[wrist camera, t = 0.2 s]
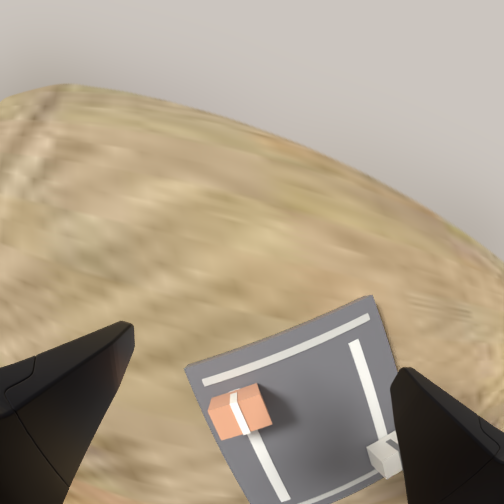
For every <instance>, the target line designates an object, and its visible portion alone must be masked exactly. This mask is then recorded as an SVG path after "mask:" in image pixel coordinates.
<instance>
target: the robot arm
mask: <svg viewBox="0 0 504 504" xmlns="http://www.w3.org/2000/svg"><path fill="white" fill-rule="evenodd" d="M134 347H135V340H134V326H133V324H131V323H128V322H125V321H119V322H117V323H114V324H112V325H109V326H107V327H105V328H102V329H100V330H97V331H95V332H92V333H90V334H87V335H85V336H83V337H80V338H78V339H75V340H73V341H70V342H68V343H65V344H63V345H60V346H58V347H55V348H53V349H50V350H48V351H45V352H43V353H40V354H38V355H36V356H33V357H30V358H27V359H25V360H22V361H19V362H17V363H14V364H11V365H8V366H4V367H1V368H0V504H63V502H64V499H65V497H66V495H67V492H68V490H69V487H70V485H71V483H72V481H73V479H74V476H75V474H76V472H77V470H78V468H79V466H80V464H81V462H82V459H83V457H84V455H85V453H86V451H87V449H88V447H89V445H90V443H91V441H92V439H93V437H94V435H95V433H96V431H97V429H98V427H99V425H100V423H101V421H102V419H103V417H104V415H105V413H106V411H107V409H108V408H109V406H110V404H111V402H112V400H113V398H114V396H115V394H116V392H117V390H118V388H119V386H120V384H121V381H122V379H123V376H124V374H125V371H126V368H127V366H128V363H129V361H130V358H131V356H132V353H133V351H134ZM390 394H391V402H392V410H393V418H394V426H395V431H396V436H397V440H398V445H399V450H400V456H401V461H402V467H403V473H404V479H405V486H406V493H407V500H408V504H504V432H502V431H500V430H499V429H497V428H496V427H494V426H493V425H491V424H490V423H488V422H487V421H485V420H484V419H483V418H481V417H480V416H478V415H477V414H476V413H474V412H473V411H471V410H470V409H469V408H467V407H466V406H465V405H463V404H462V403H460V402H459V401H458V400H456V399H455V398H453V397H452V396H451V395H449V394H448V393H447V392H445V391H444V390H442V389H441V388H440V387H438V386H437V385H435V384H434V383H433V382H431V381H430V380H429V379H427V378H426V377H424V376H423V375H422V374H420V373H419V372H417V371H416V370H415V369H413V368H411V367H403V368H401V369H400V370H399V372H398V373H397V375H396V377H395V378H394V380H393V382H392V383H391V386H390Z"/></svg>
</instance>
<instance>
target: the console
mask: <svg viewBox="0 0 504 504" xmlns="http://www.w3.org/2000/svg"><path fill="white" fill-rule="evenodd" d="M184 370H185V373H186V375H187V378H188V380H189V383H190V385H191V387H192V390H193V392H194V394H195V397H196V399H197V401H198V404H199V406H200V408H201V410H202V413H203V415H204V417H205V419H206V421H207V423H208V426H209V428H210V430H211V432H212V434H213V436H214V438H215V440H216V442H217V444H218V446H219V448H220V450H221V452H222V454H223V456H224V458H225V460H226V462H227V464H228V465H229V467H230V469H231V471H232V473H233V475H234V476H235V478H236V480H237V482H238V484H239V485H240V487H241V489H242V491H243V492H244V494H245V496H246V497H247V499H248V501H249V502H250V504H331V503H333V502H336V501H338V500H340V499H342V498H345V497H347V496H349V495H351V494H353V493H355V492H357V491H359V490H361V489H363V488H365V487H367V486H369V485H371V484H373V483H375V482H376V481H378V480H380V479H382V478H384V477H383V476H382V475H381V474H380V473H379V472H378V471H377V470H376V469H375V468H374V467H373V466H372V465H371V462H370V458H369V455H368V452H367V448H366V447H367V446H369V445H371V444H373V443H375V442H376V441H378V440H380V439H382V438H383V437H385V436H387V435H388V434H390V433H392V432H393V431H395V426H394V418H393V410H392V402H391V394H390V386H391V383H392V382H393V380H394V378H395V377H396V375H397V369H396V365H395V362H394V359H393V355H392V352H391V349H390V345H389V342H388V339H387V336H386V333H385V330H384V327H383V324H382V321H381V318H380V315H379V312H378V309H377V306H376V304H375V301H374V298H373V295H368V296H363V297H361V298H358V299H356V300H354V301H352V302H350V303H348V304H346V305H343V306H341V307H339V308H337V309H334V310H332V311H330V312H328V313H325V314H323V315H321V316H318V317H316V318H314V319H311V320H309V321H307V322H304V323H302V324H299V325H297V326H295V327H292V328H290V329H287V330H285V331H282V332H280V333H277V334H274V335H272V336H269V337H267V338H264V339H261V340H259V341H256V342H253V343H250V344H248V345H245V346H242V347H239V348H237V349H234V350H231V351H228V352H225V353H222V354H219V355H216V356H213V357H210V358H207V359H204V360H201V361H198V362H195V363H191V364H188V365H187V366H186V367H185V368H184ZM255 383H257V385H258V387H259V390H260V392H261V395H262V397H263V399H264V402H265V404H266V407H267V409H268V412H269V415H270V418H271V421H272V425H269V426H266V427H263V428H260V429H257V430H254V431H251V433H249V434H246V435H243V434H242V435H239V436H235V437H232V438H228V439H225V440H221V439H220V437H219V435H218V433H217V430H216V428H215V426H214V424H213V422H212V420H211V418H210V415H209V413H208V408H209V405H210V402H211V398H213V397H216V396H219V395H222V394H225V393H229V392H232V391H235V390H238V389H241V388H244V387H247V386H249V385H252V384H255Z"/></svg>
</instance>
